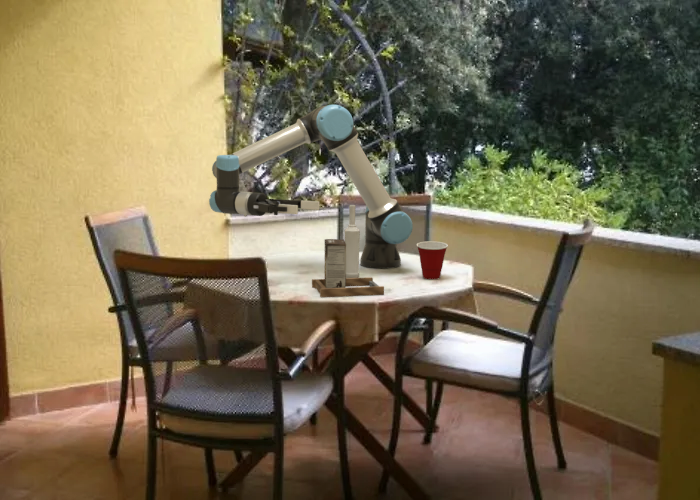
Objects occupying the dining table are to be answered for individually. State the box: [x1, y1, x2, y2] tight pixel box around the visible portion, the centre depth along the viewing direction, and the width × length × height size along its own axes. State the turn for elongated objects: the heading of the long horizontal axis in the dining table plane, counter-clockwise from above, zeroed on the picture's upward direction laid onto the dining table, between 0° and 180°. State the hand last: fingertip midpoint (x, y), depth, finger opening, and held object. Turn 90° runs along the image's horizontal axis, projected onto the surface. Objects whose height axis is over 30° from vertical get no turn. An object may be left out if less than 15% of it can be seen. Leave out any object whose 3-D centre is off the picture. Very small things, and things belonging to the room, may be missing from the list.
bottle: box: [344, 204, 361, 278], centre depth 271 cm, size 5×5×25 cm
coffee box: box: [324, 238, 347, 288], centre depth 250 cm, size 9×6×16 cm
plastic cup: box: [415, 240, 449, 280], centre depth 273 cm, size 11×11×12 cm
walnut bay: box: [311, 276, 385, 298], centre depth 252 cm, size 20×15×2 cm
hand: (308, 207), depth 252 cm, fingers open, 13 cm apart
